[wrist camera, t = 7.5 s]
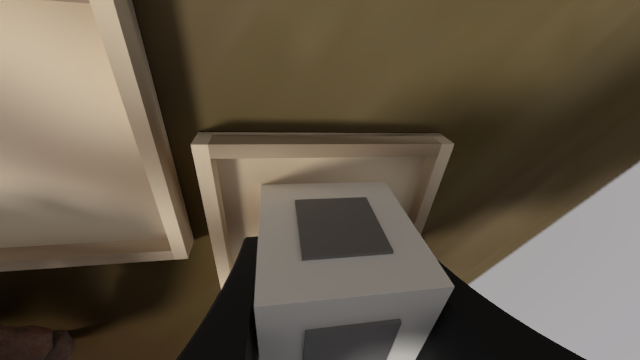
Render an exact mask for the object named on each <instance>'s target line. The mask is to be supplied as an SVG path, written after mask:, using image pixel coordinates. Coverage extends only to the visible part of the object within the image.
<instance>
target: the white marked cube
mask: <svg viewBox="0 0 640 360" xmlns="http://www.w3.org/2000/svg"><path fill="white" fill-rule="evenodd" d="M454 287H455V286H454V285H453V283H452V282H451V280H450V279H449V277H448V276H447V274H446V273H445V271H444V270H443V268H442V267H441V265H440V264H439V262H438V261H437V259H436V258H435V256H434V255H433V253H432V252H431V250H430V249H429V247H428V246H427V244H426V243H425V241H424V240H423V238H422V237H421V235H420V234H419V232H418V231H417V229H416V228H415V226H414V225H413V223H412V221H411V220H410V218H409V217H408V215H407V214H406V212H405V211H404V209H403V208H402V206H401V205H400V203H399V202H398V200H397V199H396V197H395V196H394V194H393V193H392V191H391V190H390V188H389V187H388V185H387V184H386V182H385V181H377V182H341V183H304V184H268V185H261V196H260V212H259V229H258V245H257V262H256V278H255V295H254V314H255V323H256V331H257V340H258V349H259V358H260V360H415V359H416V358H417V356H418V354H419V352H420V350H421V348H422V346H423V345H424V343H425V341H426V339H427V337H428V335H429V333H430V332H431V330H432V328H433V326H434V324H435V322H436V321H437V319H438V317H439V315H440V313H441V311H442V309H443V308H444V306H445V304H446V302H447V300H448V298H449V296H450V295H451V293H452V291H453V289H454Z"/></svg>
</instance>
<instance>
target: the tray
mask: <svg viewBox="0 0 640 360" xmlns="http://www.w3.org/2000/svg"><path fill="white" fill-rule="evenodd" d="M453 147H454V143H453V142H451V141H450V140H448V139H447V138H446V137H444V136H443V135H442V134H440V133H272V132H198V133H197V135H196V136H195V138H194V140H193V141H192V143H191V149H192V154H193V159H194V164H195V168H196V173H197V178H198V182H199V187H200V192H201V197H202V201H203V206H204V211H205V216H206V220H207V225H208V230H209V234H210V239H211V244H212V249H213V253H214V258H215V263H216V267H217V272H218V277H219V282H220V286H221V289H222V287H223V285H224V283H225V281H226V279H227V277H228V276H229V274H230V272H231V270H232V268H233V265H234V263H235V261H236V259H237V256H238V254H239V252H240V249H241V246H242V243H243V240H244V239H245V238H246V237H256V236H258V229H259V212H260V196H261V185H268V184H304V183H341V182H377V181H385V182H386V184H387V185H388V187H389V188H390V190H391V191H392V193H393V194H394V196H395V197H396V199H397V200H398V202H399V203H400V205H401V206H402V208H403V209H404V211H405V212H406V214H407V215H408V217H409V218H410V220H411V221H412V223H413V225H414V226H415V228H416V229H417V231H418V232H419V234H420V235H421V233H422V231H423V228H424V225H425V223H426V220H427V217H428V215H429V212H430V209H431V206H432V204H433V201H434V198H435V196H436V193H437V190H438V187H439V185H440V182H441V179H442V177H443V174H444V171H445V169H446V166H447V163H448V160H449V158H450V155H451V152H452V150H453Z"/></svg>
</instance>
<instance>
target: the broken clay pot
mask: <svg viewBox="0 0 640 360" xmlns="http://www.w3.org/2000/svg"><path fill="white" fill-rule="evenodd" d="M74 348H75V342H74V339H73V338H71V336H70V335H69V332H68V331H65V330H54V331H52V330H51V329H49V328H44V327H39V326H34V325H29V326H26V327H23V326H11V327H6V326H2V325H0V360H69V359H70V357H71V355H72V353H73V351H74Z"/></svg>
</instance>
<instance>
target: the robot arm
mask: <svg viewBox="0 0 640 360" xmlns="http://www.w3.org/2000/svg"><path fill="white" fill-rule="evenodd" d="M257 245H258V236H256V237H246V238H245V239H244V240H243V243H242V246H241V249H240V252H239V254H238V256H237V259H236V261H235V263H234V265H233V268H232V270H231V272H230V274H229V276H228V277H227V279H226V281H225V283H224V285H223V287H222V289H221V291H220V293H219V294H218V296H217V298H216V300H215V301H214V303H213V305H212V307H211V308H210V310H209V312H208V313H207V315H206V317H205V318H204V320H203V321H202V323H201V324H200V326H199V328H198V329H197V331H196V332H195V334H194V335H193V337H192V338H191V340H190V341H189V342H188V344H187V345H186V347H185V348H184V350H183V351H182V352H181V354H180V355H179V357H178V358H177V359H176V360H258V358H259V349H258V340H257V331H256V323H255V314H254V295H255V278H256V262H257ZM437 261H438V260H437ZM438 262H439V261H438ZM439 264H440V265H441V267H442V268H443V270H444V271H445V273H446V274H447V276H448V277H449V279H450V280H451V282H452V283H453V285H454V286H455V287H454V289H453V291H452V293H451V295H450V296H449V298H448V300H447V302H446V304H445V306H444V308H443V309H442V311H441V313H440V315H439V317H438V319H437V321H436V322H435V324H434V326H433V328H432V330H431V332H430V333H429V335H428V337H427V339H426V341H425V343H424V345H423V346H422V348H421V350H420V352H419V354H418V356H417V358H416V360H586V359H584V358H582V357H580V356H578V355H576V354H575V353H573V352H571V351H569V350H568V349H566V348H564V347H562V346H560V345H559V344H557V343H555V342H553V341H552V340H550V339H548V338H547V337H545V336H543V335H541V334H540V333H538V332H536V331H535V330H533V329H531V328H530V327H528V326H526V325H525V324H523V323H522V322H520V321H519V320H517V319H515V318H514V317H512V316H511V315H509V314H508V313H506V312H504V311H503V310H502V309H500V308H499V307H497V306H496V305H495V304H493V303H492V302H490V301H489V300H487V299H486V298H484V297H483V296H482V295H480V294H479V293H478V292H476V291H475V290H473V289H472V288H471V287H470V286H468V285H467V284H466V283H465V282H463V281H462V280H461V279H460V278H458V277H457V276H456V275H455V274H453V273H452V272H451V271H450V270H449V269H447V268H446V267H445V266H444V265H443V264H441V263H440V262H439Z"/></svg>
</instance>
